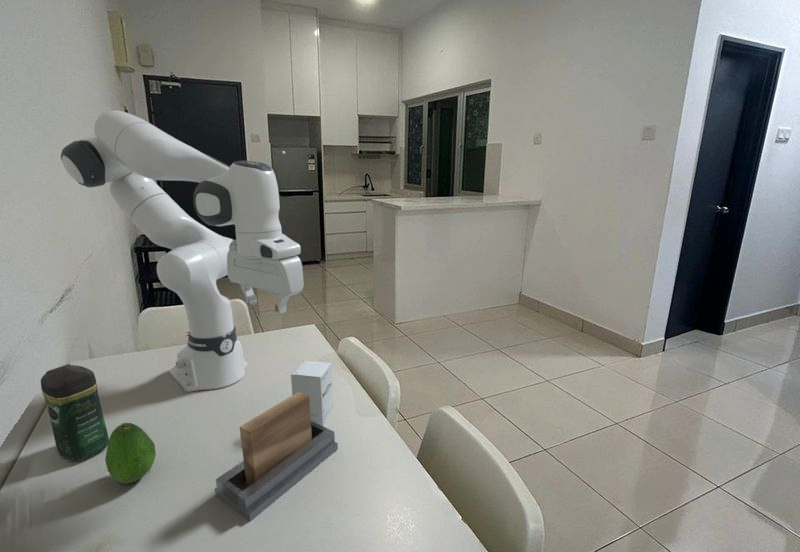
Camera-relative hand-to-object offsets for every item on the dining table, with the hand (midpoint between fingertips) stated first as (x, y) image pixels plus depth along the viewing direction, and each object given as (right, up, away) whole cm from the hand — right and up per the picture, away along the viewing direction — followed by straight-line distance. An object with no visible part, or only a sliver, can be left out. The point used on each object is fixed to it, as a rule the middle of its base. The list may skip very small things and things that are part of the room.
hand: (266, 307), depth 88 cm
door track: (+5, -32, -6) cm, 33 cm away
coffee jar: (-39, -30, +1) cm, 49 cm away
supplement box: (+8, -27, +12) cm, 31 cm away
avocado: (-23, -33, -8) cm, 40 cm away
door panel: (+5, -30, -6) cm, 31 cm away
